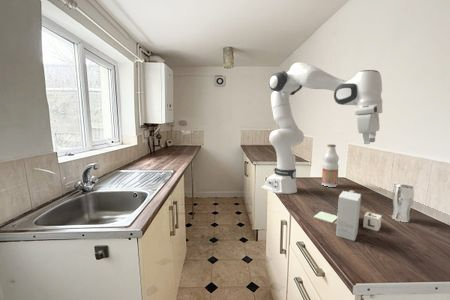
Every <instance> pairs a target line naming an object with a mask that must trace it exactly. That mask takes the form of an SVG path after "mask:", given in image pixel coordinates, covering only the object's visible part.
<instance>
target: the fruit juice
mask: <svg viewBox="0 0 450 300" xmlns="http://www.w3.org/2000/svg"><path fill="white" fill-rule="evenodd" d="M336 145H337V144H332V143H331V144H327V150H326V151H325V154H324V155H323V164H322V173H321V185H324V186H328V187H336V186H337V187H338V185H339V184H338V182H339V181H338V178H339V163H338V162H339V160H340V159H339V158H340V157H339V155H338V153H337V151H336V147H337V146H336ZM324 186H323V187H324ZM328 187H327V188H328ZM337 187H336V188H337Z"/></svg>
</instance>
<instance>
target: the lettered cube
mask: <svg viewBox="0 0 450 300" xmlns="http://www.w3.org/2000/svg"><path fill="white" fill-rule="evenodd" d="M362 227H363V228H365V229H369V230H373V231H375V232H378V231H380V229H381V227H382V214H378V213H374V212H370V211H366V212H365V214H364V215H363V225H362Z"/></svg>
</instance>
